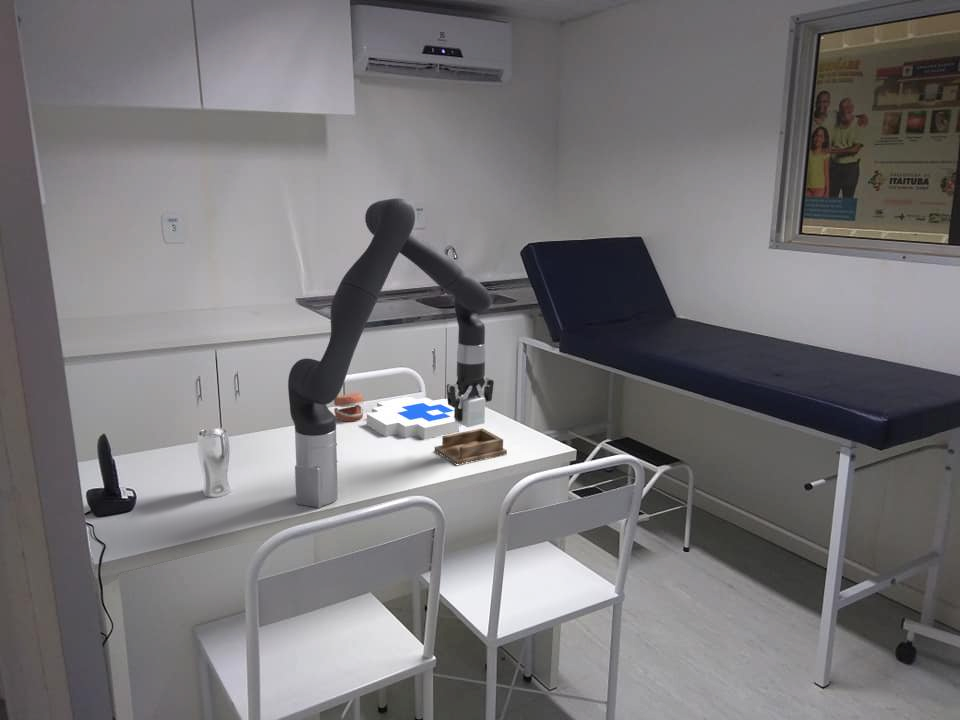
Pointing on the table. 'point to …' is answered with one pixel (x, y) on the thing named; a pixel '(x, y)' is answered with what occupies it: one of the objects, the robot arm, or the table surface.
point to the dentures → (349, 412)
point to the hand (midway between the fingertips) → (469, 418)
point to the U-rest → (471, 446)
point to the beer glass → (214, 460)
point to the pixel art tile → (413, 418)
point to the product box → (473, 411)
